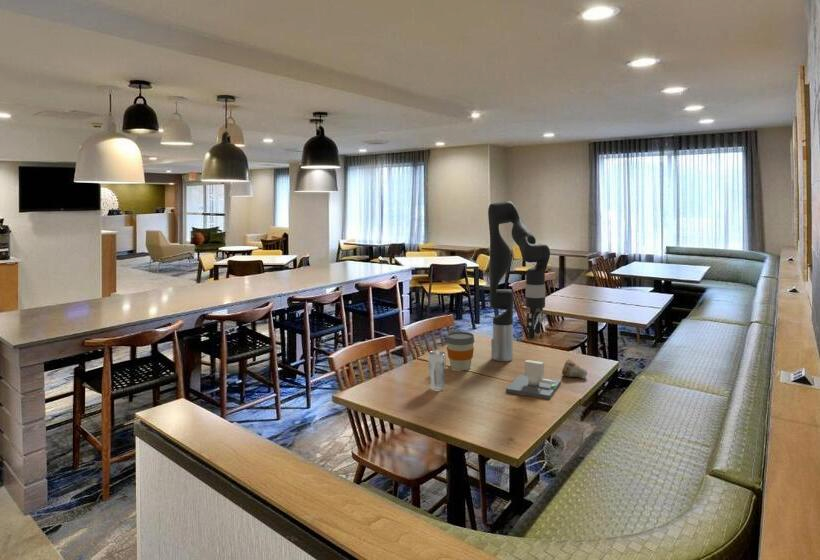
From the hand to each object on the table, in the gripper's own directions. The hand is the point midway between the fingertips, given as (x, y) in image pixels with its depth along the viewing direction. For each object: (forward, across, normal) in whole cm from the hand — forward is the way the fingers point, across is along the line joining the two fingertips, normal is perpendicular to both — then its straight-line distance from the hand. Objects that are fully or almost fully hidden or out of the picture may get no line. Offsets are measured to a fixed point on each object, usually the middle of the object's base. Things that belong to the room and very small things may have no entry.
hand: (534, 335), depth 203 cm
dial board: (+22, 0, 0) cm, 22 cm away
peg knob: (+20, 0, -2) cm, 20 cm away
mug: (+22, +20, -12) cm, 32 cm away
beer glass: (+22, -17, +35) cm, 44 cm away
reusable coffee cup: (+22, +11, +36) cm, 44 cm away
